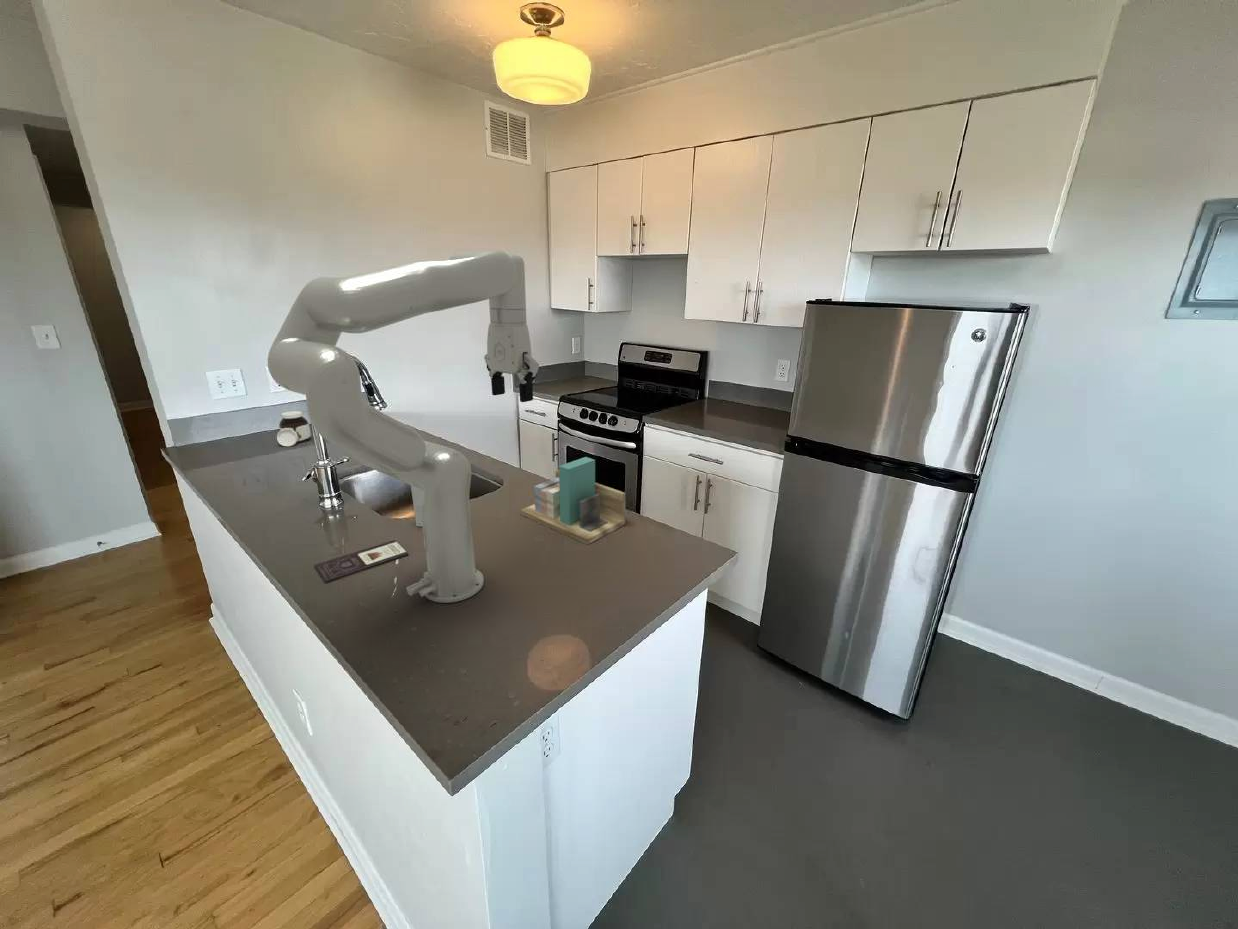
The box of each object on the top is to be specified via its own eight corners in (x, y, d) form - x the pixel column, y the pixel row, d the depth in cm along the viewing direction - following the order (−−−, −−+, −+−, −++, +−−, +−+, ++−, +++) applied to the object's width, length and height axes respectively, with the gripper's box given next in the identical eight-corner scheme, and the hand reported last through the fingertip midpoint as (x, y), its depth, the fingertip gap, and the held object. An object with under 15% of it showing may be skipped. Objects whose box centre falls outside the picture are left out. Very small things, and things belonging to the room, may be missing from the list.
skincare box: (436, 528, 133) (430, 476, 128) (414, 526, 134) (407, 475, 129) (449, 514, 141) (444, 465, 136) (429, 513, 142) (422, 464, 137)
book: (569, 525, 133) (568, 469, 127) (560, 521, 135) (558, 466, 129) (594, 513, 140) (595, 459, 135) (585, 509, 142) (585, 456, 137)
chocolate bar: (314, 565, 114) (394, 540, 126) (314, 568, 115) (394, 543, 126) (325, 581, 108) (408, 553, 120) (325, 585, 109) (408, 557, 120)
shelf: (587, 544, 126) (587, 510, 123) (520, 514, 142) (518, 483, 139) (624, 524, 137) (625, 492, 134) (559, 498, 153) (558, 469, 150)
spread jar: (310, 436, 208) (304, 409, 204) (315, 443, 200) (309, 415, 196) (275, 441, 201) (269, 413, 197) (280, 449, 192) (273, 419, 188)
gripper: (469, 315, 108) (474, 394, 113) (520, 320, 97) (524, 406, 103) (497, 315, 113) (501, 390, 119) (549, 319, 103) (551, 401, 109)
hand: (512, 397), depth 111 cm, fingers open, 9 cm apart
